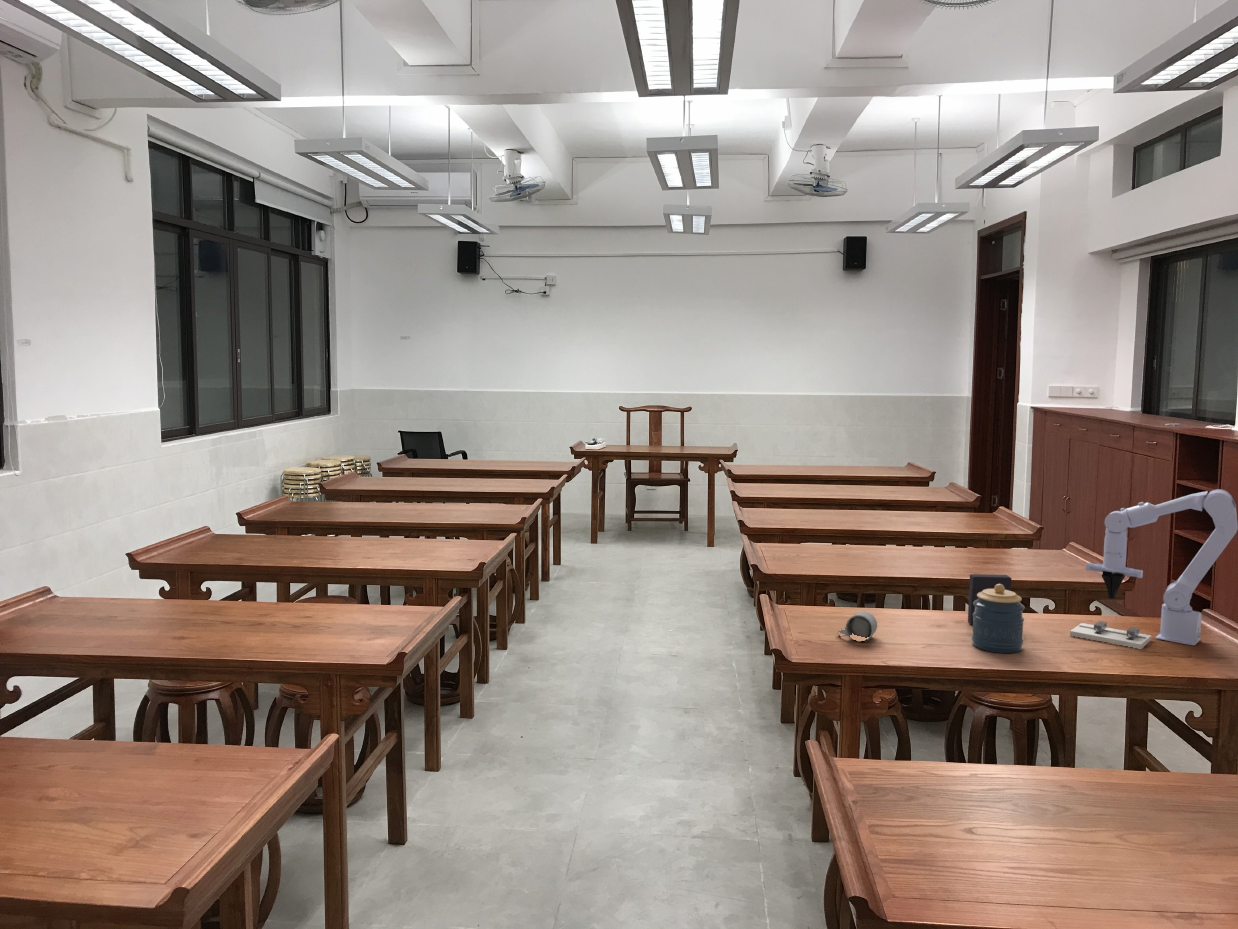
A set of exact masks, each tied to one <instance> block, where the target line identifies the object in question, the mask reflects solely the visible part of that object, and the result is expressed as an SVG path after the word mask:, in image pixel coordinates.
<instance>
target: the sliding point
mask: <svg viewBox="0 0 1238 929" xmlns="http://www.w3.org/2000/svg"><path fill="white" fill-rule="evenodd" d="M1093 625H1094V630H1095V631H1096V632H1098V631H1100V632H1102V631H1103V630H1104V629H1106V628H1108V627H1107V626H1108V622H1105V621H1100V620H1099V621H1097V622H1095V624H1093Z"/></svg>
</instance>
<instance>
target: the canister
mask: <svg viewBox="0 0 1238 929" xmlns="http://www.w3.org/2000/svg"><path fill="white" fill-rule="evenodd" d="M977 597H979V598H978V599H977V600H975V601H974V602H973V604H974V606H975V612H974V613H973V625H972V634H971V641H972V645H973V646H974V647H975V648H977V649H980V650H982V651H986V652H992V653H997V654H1014V653H1015V654H1016V653H1018V652H1020V651H1022V648H1023V644H1024V640H1023V636H1024V635H1023V634H1024V621H1025V618H1024V617H1023V611H1024V610H1025V605H1024V604H1022V603H1021V601H1022V597H1021V596H1020V595H1018V594H1017V593H1016V592H1014V591H1009V590H1005V588H1004V586H1003V585H1002V584H997V585H995V587H994V589H985V590H983V591H982V592H979V593H978V594H977Z"/></svg>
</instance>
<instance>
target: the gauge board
mask: <svg viewBox="0 0 1238 929" xmlns="http://www.w3.org/2000/svg"><path fill="white" fill-rule="evenodd" d="M1126 634H1127V630H1122V629H1116V628H1112V627H1107V628H1106V629H1104V630H1103V631H1102V632H1100V631H1098V632H1096V631H1095V630H1094V624H1089V623H1085V622H1081V623H1079V624H1078V625H1077V626H1075V627H1074V628H1072V629H1071V630H1070V631H1069V637H1073V636H1075V637H1074V638H1078V637H1080V638H1079V639H1083V638H1086V639H1085V640H1088V639H1092V640H1091V641H1093V640H1098V641H1104V642H1109V643H1114V644H1119V645H1123V646H1122V647H1124V646H1128V647H1127V648H1130V647H1133V648H1132V649H1135V648H1138V649H1137V650H1140V649H1141V650H1142V649H1143V648H1145V647H1144V646H1145V645H1146V644H1147V643H1148V642H1149V641H1150V640H1151V641H1152V635H1149V634H1144V633H1140V632H1139V634H1138V635H1137V636H1136V637H1135V638H1133V637H1131V638H1129V637H1127V636H1126ZM1098 641H1097V642H1098ZM1151 641H1150V642H1151ZM1104 642H1103V643H1104ZM1150 642H1149V643H1150ZM1109 643H1108V644H1109ZM1149 643H1148V644H1149ZM1114 644H1113V645H1114ZM1148 644H1147V645H1148ZM1119 645H1118V646H1119ZM1147 645H1146V646H1147Z"/></svg>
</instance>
